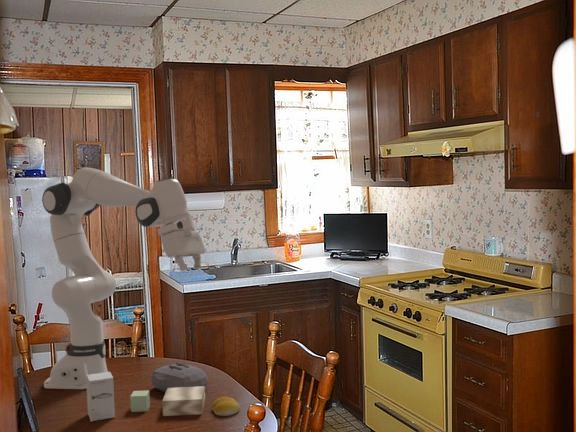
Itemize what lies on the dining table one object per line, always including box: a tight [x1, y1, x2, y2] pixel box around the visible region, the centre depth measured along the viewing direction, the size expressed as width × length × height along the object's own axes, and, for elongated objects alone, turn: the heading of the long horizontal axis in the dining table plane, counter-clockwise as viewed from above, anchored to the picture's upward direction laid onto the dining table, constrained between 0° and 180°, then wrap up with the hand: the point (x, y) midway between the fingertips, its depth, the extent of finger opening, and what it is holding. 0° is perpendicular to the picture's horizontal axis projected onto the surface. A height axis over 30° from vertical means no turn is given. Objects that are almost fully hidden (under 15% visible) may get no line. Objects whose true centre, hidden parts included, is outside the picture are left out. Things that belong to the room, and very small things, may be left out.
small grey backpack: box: [151, 362, 209, 394], centre depth 217 cm, size 15×8×20 cm
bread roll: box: [211, 396, 241, 417], centre depth 196 cm, size 8×9×4 cm
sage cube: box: [130, 389, 151, 413], centre depth 200 cm, size 5×5×5 cm
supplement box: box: [86, 371, 116, 423], centre depth 194 cm, size 7×7×13 cm
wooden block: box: [162, 386, 206, 417], centre depth 199 cm, size 12×12×5 cm
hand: (191, 269), depth 197 cm, fingers open, 8 cm apart
